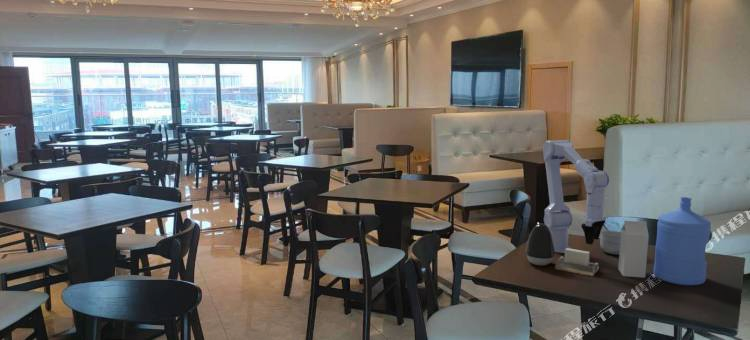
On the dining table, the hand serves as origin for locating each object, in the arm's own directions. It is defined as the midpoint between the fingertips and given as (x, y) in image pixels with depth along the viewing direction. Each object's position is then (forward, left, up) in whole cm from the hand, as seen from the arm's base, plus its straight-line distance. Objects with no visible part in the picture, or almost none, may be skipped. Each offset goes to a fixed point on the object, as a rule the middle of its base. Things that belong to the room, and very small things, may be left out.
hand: (592, 241), depth 194 cm
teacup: (-22, +5, -10) cm, 24 cm away
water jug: (-5, +28, -10) cm, 30 cm away
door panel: (+6, -3, -9) cm, 11 cm away
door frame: (+6, -3, -9) cm, 12 cm away
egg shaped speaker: (+8, -16, -10) cm, 20 cm away
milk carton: (0, +14, -10) cm, 17 cm away
